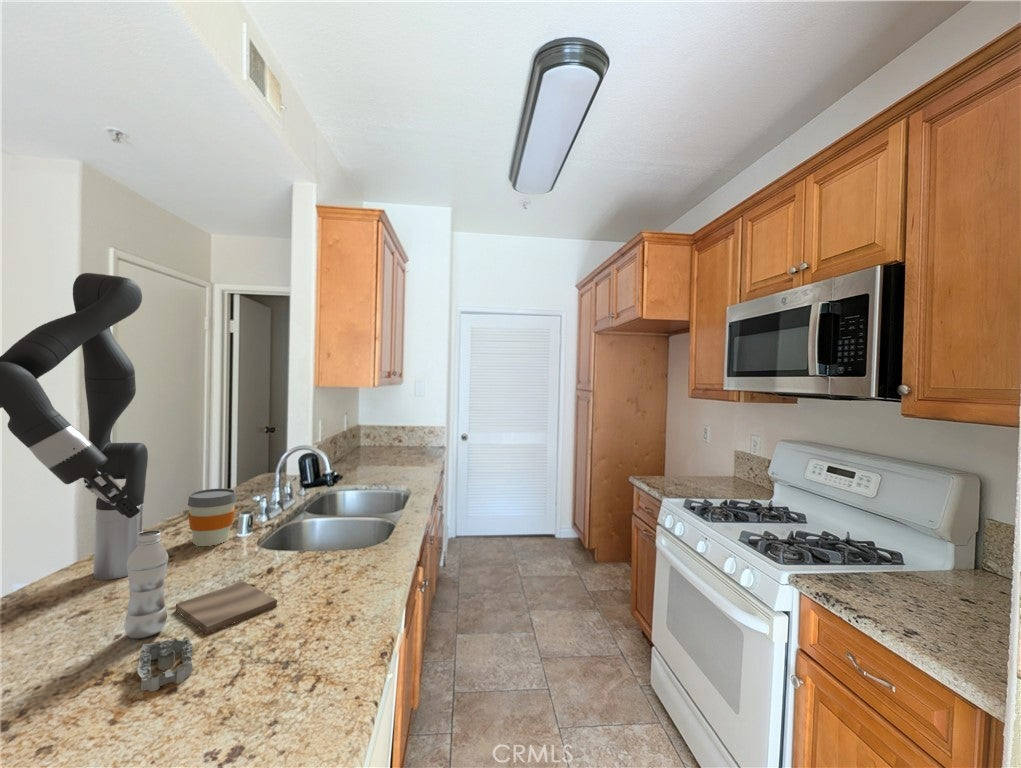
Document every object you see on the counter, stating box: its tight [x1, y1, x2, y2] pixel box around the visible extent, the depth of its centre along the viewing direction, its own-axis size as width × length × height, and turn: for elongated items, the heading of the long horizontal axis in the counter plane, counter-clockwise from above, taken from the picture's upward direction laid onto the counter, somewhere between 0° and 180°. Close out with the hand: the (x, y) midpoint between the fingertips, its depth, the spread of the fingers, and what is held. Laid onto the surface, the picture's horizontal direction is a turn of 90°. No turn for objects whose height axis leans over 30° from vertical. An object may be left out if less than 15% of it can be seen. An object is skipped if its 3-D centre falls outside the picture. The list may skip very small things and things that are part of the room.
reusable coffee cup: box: [187, 487, 237, 547], centre depth 137 cm, size 13×13×15 cm
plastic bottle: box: [124, 529, 169, 639], centre depth 88 cm, size 6×7×20 cm
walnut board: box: [175, 581, 278, 634], centre depth 98 cm, size 15×14×2 cm
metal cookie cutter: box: [137, 636, 194, 692], centre depth 77 cm, size 11×8×4 cm
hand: (131, 513), depth 93 cm, fingers open, 8 cm apart
